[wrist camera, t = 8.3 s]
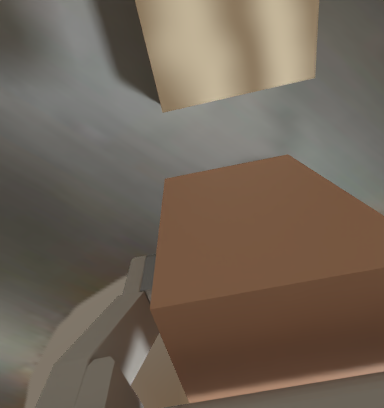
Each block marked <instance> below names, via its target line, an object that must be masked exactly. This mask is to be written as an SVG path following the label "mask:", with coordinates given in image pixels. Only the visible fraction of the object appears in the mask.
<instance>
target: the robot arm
mask: <svg viewBox="0 0 384 408" xmlns="http://www.w3.org/2000/svg"><path fill="white" fill-rule="evenodd" d="M155 260H156V254H153V255H147V256H142V257H136V258H133V259H132V261H131V264H130V268H129V271H128V275H127V279H126V283H125V287H124V291H123V295H120V296H118V297H117V298H116V299H115V300H114V301H113V302H112V303H111V304H110V305H109V306H108V307H107V308H106V310H104V311H103V313H102V314H101V315H100V316H99V317H98V318H97V319H96V320H95V321H94V322H93V323H92V324H91V325H90V326H89V328H88V329H87V330H86V331H85V332H84V333H83V334H82V335H81V336H80V337H79V338H78V339H77V340H76V342H74V344H73V345H72V346H71V347H70V348H69V349H68V350H67V351H66V352H65V353H64V354H63V355H62V356H61V358H59V360H58V361H57V362H56V363H55V364H54V365H53V368H52V370H51V372H50V375H49V377H48V379H47V382H46V384H45V386H44V388H43V391H42V393H41V395H40V397H39V400H38V402H37V404H36V407H35V408H143V404H142V403H141V401H140V400H139V398H138V397H137V395H136V393H135V392H134V390H133V389H132V387H131V386H130V385H131V383H132V382H133V380H134V378H135V376H136V374H137V372H138V371H139V369H140V367H141V365H142V363H143V362H144V360H145V358H146V356H147V354H148V352H149V351H150V349H151V347H152V345H153V343H154V341H155V339H156V338H157V336H158V334H159V330H158V328H157V325H156V323H155V321H154V318H153V316H152V314H151V311H150V303H151V295H152V286H153V277H154V269H155ZM165 408H384V371H383V372H377V373H371V374H365V375H359V376H353V377H347V378H341V379H335V380H329V381H322V382H316V383H310V384H304V385H298V386H292V387H286V388H280V389H274V390H268V391H262V392H256V393H250V394H243V395H237V396H231V397H225V398H219V399H213V400H207V401H201V402H195V403H189V404H183V405H177V406H171V407H165Z"/></svg>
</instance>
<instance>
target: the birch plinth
mask: <svg viewBox="0 0 384 408" xmlns="http://www.w3.org/2000/svg"><path fill="white" fill-rule="evenodd" d="M135 3H136V7H137V11H138V15H139V19H140V23H141V27H142V31H143V35H144V39H145V43H146V47H147V51H148V55H149V59H150V63H151V67H152V71H153V75H154V80H155V84H156V88H157V92H158V96H159V100H160V104H161V108H162V112H168V111H172V110H176V109H181V108H185V107H190V106H194V105H198V104H203V103H207V102H211V101H216V100H220V99H225V98H229V97H233V96H238V95H242V94H246V93H251V92H255V91H260V90H264V89H268V88H273V87H277V86H281V85H286V84H290V83H295V82H299V81H303V80H308V79H312V78H315V67H316V48H317V29H318V10H319V0H135Z"/></svg>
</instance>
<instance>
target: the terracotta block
mask: <svg viewBox="0 0 384 408" xmlns="http://www.w3.org/2000/svg"><path fill="white" fill-rule="evenodd" d="M150 311H151V314H152V316H153V318H154V321H155V323H156V325H157V328H158V330H159V332H160V334H161V337H162V339H163V342H164V344H165V347H166V349H167V351H168V354H169V356H170V358H171V361H172V363H173V365H174V368H175V370H176V373H177V375H178V377H179V380H180V382H181V384H182V387H183V389H184V391H185V394H186V396H187V398H188V401H189V403H195V402H201V401H207V400H213V399H219V398H225V397H231V396H237V395H243V394H250V393H256V392H262V391H268V390H274V389H280V388H286V387H292V386H298V385H304V384H310V383H316V382H322V381H329V380H335V379H341V378H347V377H353V376H359V375H365V374H371V373H377V372H383V371H384V216H383V215H382V214H380V213H378V212H377V211H375V210H374V209H372V208H371V207H369V206H368V205H366V204H364V203H363V202H361V201H360V200H358V199H357V198H355V197H354V196H352V195H350V194H349V193H347V192H346V191H344V190H343V189H341V188H339V187H338V186H336V185H335V184H333V183H332V182H330V181H329V180H327V179H325V178H324V177H322V176H321V175H319V174H318V173H316V172H314V171H313V170H311V169H310V168H308V167H307V166H305V165H304V164H302V163H300V162H299V161H297V160H296V159H294V158H293V157H291V156H289V155H283V156H278V157H273V158H268V159H263V160H258V161H253V162H248V163H242V164H237V165H232V166H227V167H222V168H217V169H212V170H207V171H202V172H197V173H192V174H187V175H182V176H177V177H172V178H167V179H165V183H164V192H163V200H162V209H161V218H160V226H159V235H158V243H157V252H156V260H155V269H154V277H153V286H152V295H151V303H150Z"/></svg>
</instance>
